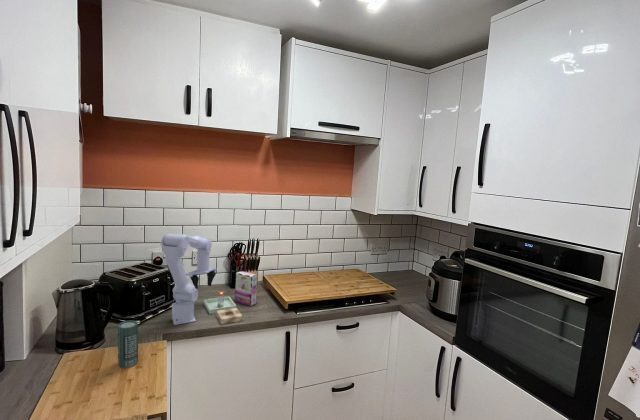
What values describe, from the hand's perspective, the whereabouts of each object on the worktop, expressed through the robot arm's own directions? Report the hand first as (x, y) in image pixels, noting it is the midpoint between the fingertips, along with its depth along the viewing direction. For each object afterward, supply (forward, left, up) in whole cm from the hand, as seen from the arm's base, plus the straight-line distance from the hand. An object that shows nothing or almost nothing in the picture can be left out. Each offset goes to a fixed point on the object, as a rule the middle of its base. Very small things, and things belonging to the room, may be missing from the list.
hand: (202, 287), depth 175 cm
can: (-34, -40, -11) cm, 54 cm away
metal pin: (+8, -5, -10) cm, 14 cm away
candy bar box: (+22, -3, -11) cm, 25 cm away
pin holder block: (+9, -18, -10) cm, 23 cm away
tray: (+8, -4, -10) cm, 14 cm away
